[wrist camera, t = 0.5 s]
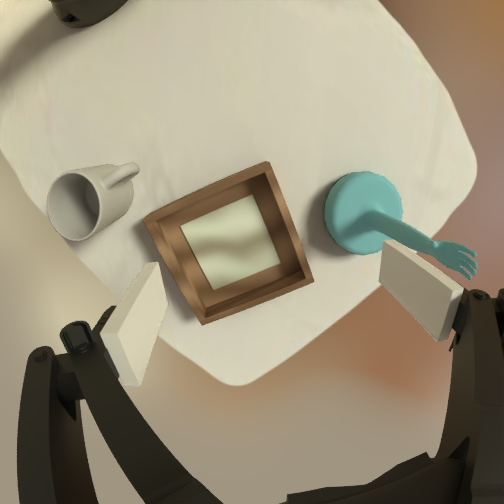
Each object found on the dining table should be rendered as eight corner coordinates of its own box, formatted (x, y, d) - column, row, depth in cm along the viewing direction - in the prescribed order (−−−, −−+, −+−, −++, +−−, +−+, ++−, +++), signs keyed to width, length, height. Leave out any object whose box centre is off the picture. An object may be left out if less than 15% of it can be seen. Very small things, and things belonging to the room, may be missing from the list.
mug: (103, 229, 38) (68, 254, 28) (77, 184, 35) (36, 197, 25) (163, 188, 37) (139, 201, 27) (135, 139, 34) (102, 135, 24)
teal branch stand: (374, 157, 37) (506, 178, 14) (401, 224, 41) (512, 289, 18) (307, 195, 39) (406, 257, 15) (341, 262, 43) (429, 364, 20)
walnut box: (150, 212, 38) (142, 219, 34) (265, 161, 37) (269, 161, 33) (204, 311, 44) (201, 325, 40) (307, 270, 43) (314, 281, 39)
